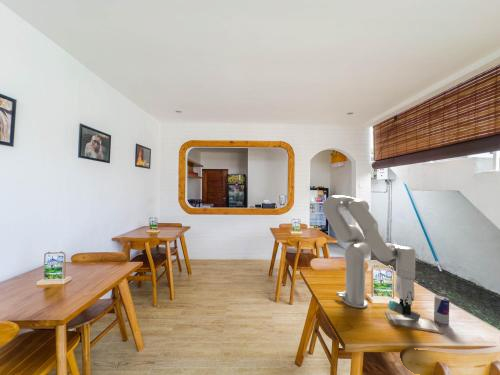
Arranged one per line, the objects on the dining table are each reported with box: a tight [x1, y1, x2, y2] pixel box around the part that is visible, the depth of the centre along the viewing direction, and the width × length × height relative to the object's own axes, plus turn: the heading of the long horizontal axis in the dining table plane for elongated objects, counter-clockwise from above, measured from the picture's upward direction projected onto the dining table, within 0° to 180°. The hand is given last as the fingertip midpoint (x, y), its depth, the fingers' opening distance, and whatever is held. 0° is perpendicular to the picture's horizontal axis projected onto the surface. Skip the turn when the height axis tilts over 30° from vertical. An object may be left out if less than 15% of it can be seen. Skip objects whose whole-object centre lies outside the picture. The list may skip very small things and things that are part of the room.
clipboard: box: [384, 311, 445, 335], centre depth 108 cm, size 20×11×1 cm, turn 74°
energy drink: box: [433, 294, 450, 328], centre depth 108 cm, size 5×5×12 cm
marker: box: [387, 300, 421, 322], centre depth 109 cm, size 4×3×12 cm
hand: (405, 312), depth 109 cm, fingers closed on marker, 3 cm apart
